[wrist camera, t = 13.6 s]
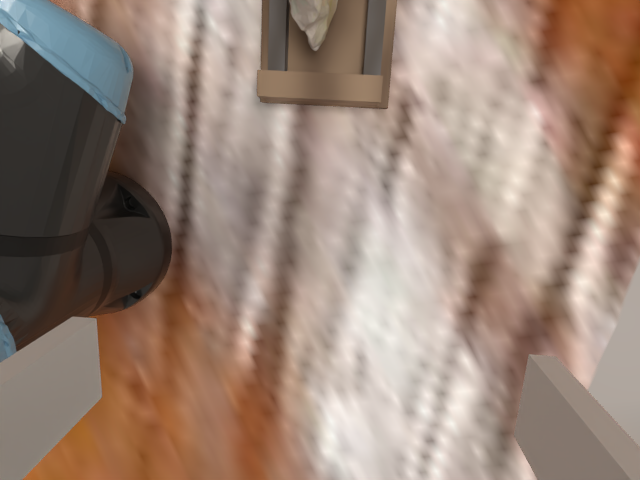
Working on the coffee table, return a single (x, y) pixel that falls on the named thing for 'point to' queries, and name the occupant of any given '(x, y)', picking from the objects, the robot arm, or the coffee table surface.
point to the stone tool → (313, 18)
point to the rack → (328, 56)
